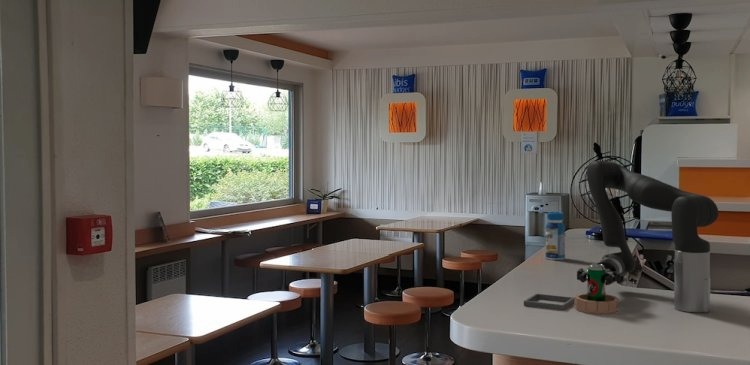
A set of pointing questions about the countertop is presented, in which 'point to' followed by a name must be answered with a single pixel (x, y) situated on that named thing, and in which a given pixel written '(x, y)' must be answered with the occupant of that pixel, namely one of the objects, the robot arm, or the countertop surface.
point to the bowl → (597, 304)
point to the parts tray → (567, 303)
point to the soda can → (596, 282)
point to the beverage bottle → (555, 236)
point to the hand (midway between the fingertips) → (594, 280)
